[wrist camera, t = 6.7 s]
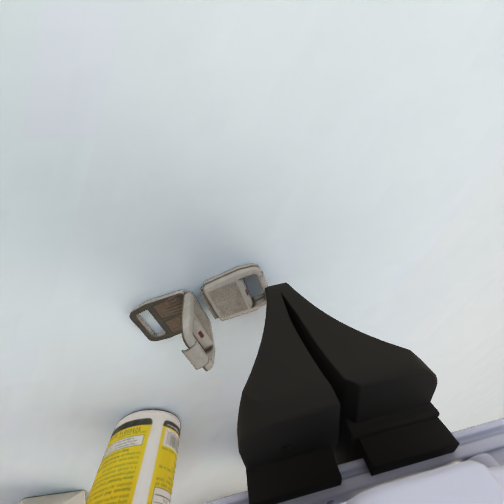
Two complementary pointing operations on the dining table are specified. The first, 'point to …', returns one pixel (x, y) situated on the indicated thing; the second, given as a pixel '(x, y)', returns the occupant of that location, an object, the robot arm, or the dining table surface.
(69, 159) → the dining table surface
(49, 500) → the die
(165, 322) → the strap clip
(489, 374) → the dining table surface
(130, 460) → the supplement bottle
